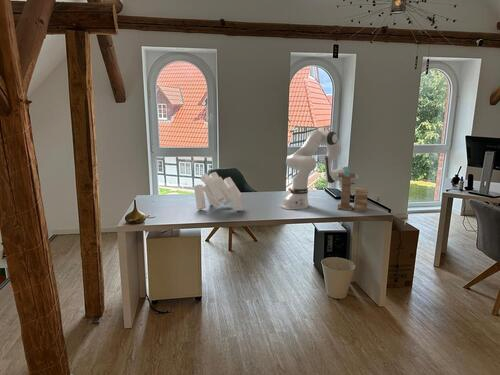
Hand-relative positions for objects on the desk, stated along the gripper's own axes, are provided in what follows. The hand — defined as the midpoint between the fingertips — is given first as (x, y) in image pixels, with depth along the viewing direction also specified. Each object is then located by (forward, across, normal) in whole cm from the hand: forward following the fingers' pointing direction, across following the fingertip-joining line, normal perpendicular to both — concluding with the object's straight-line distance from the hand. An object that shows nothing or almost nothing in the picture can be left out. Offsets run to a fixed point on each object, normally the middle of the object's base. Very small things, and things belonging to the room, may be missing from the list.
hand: (345, 174), depth 275 cm
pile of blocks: (+22, -92, +40) cm, 103 cm away
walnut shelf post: (+4, 0, +29) cm, 29 cm away
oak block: (+4, +11, +29) cm, 31 cm away
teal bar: (+15, 0, +5) cm, 16 cm away
